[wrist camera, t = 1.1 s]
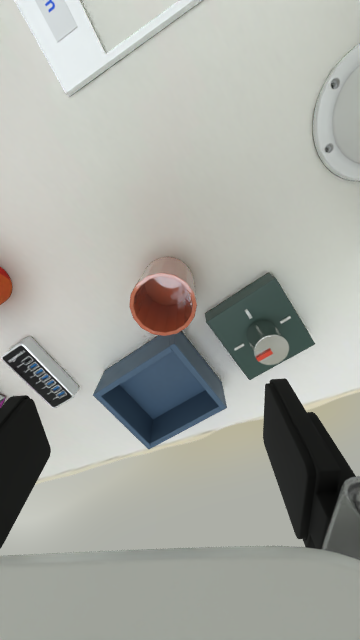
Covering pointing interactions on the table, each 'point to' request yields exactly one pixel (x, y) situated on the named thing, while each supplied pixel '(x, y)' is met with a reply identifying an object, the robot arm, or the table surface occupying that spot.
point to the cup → (164, 297)
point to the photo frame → (83, 38)
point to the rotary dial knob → (267, 342)
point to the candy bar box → (1, 400)
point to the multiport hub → (40, 372)
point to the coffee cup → (4, 286)
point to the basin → (161, 389)
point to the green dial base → (251, 306)
